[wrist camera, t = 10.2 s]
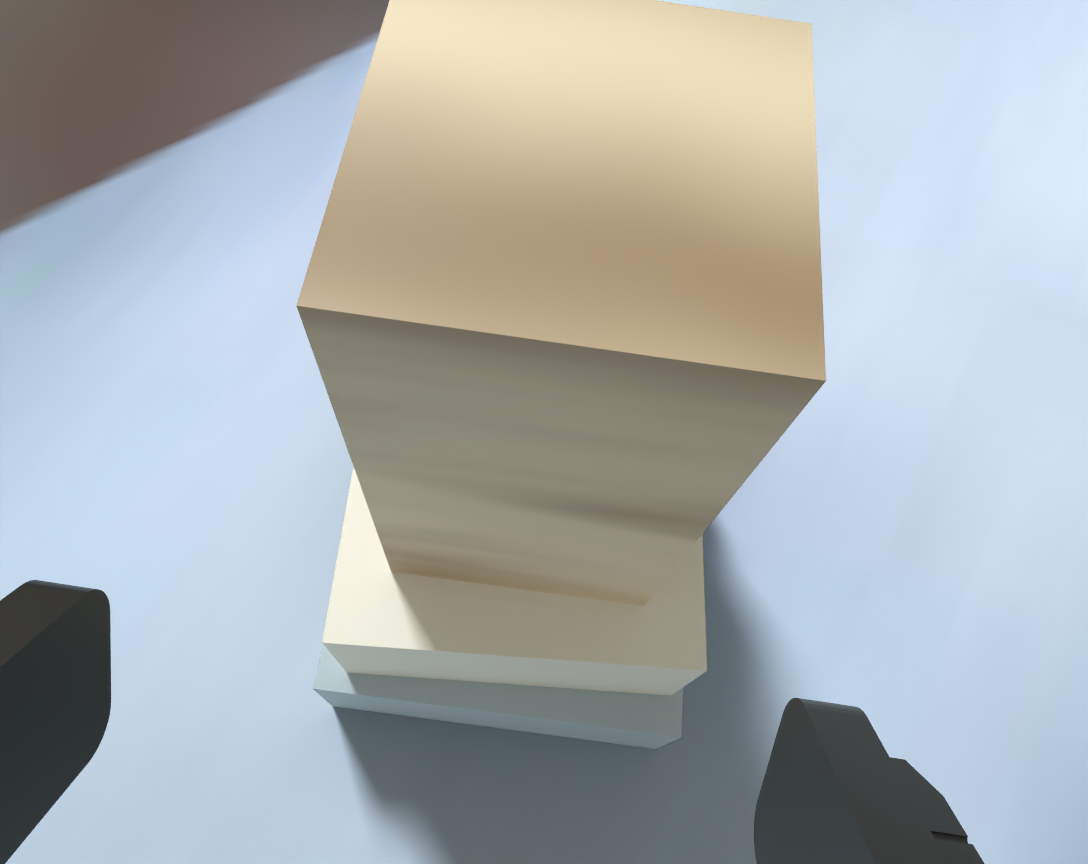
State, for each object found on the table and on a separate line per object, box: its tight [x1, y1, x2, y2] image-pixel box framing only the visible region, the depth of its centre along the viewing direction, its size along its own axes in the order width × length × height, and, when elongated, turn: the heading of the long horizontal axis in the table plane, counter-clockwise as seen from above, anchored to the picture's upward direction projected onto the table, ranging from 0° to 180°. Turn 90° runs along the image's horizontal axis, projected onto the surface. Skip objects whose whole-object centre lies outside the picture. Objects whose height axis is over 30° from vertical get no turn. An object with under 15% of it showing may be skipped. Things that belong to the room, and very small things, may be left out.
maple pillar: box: [297, 0, 826, 606], centre depth 14 cm, size 6×6×10 cm
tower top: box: [322, 467, 707, 696], centre depth 20 cm, size 8×8×4 cm
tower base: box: [313, 644, 683, 749], centre depth 23 cm, size 9×9×4 cm
